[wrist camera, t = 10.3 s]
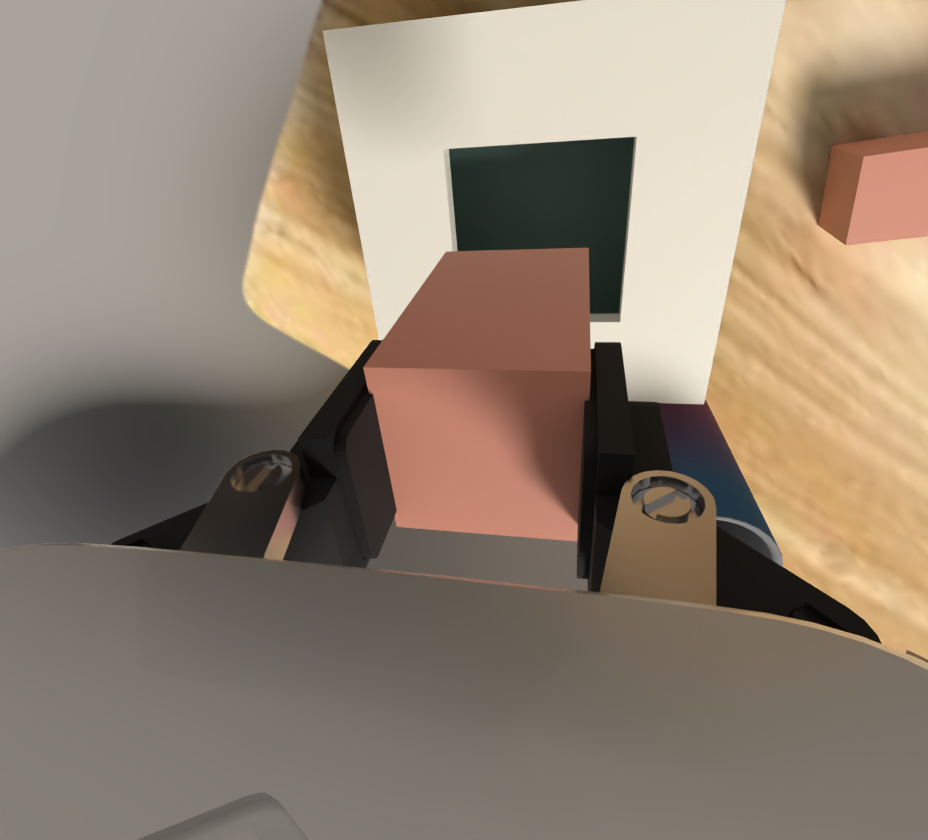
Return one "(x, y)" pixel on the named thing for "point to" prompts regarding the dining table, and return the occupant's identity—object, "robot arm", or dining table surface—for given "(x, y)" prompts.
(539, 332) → the salmon pink block
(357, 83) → the green and cream box
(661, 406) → the cup
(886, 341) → the dining table surface
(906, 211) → the block
